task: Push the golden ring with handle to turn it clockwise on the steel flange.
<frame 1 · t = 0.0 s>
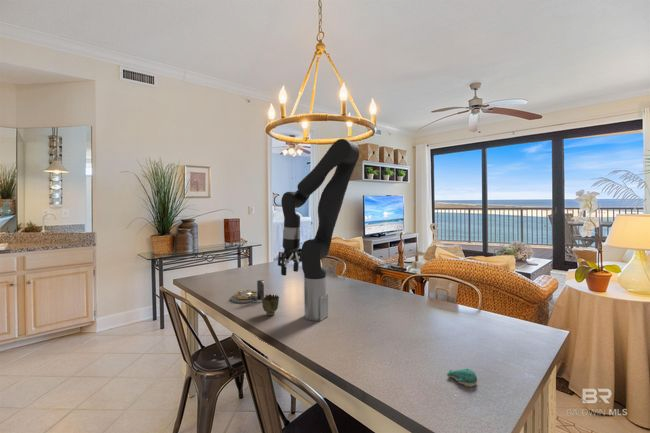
hand: (289, 273, 137), 17 cm above the table, tool pointing down, fingers open, 8 cm apart
steel flange: (246, 298, 157), on the table
cup: (270, 315, 134), on the table
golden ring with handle: (250, 287, 155), point 6 cm above the table, hinge at 0.0°
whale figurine: (461, 382, 84), on the table
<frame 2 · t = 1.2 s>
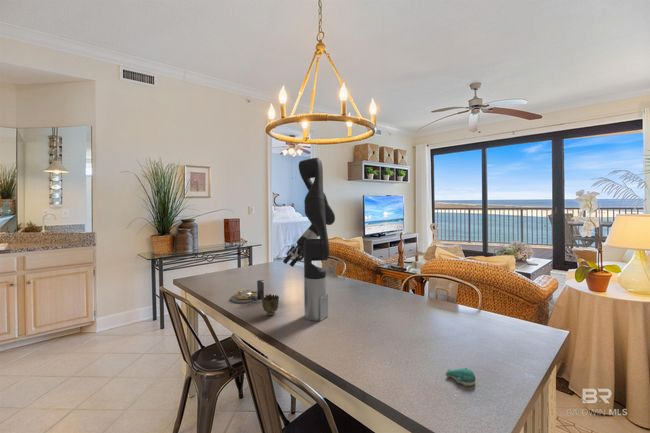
hand: (287, 264, 158), 17 cm above the table, tool tilted 45°, fingers open, 7 cm apart
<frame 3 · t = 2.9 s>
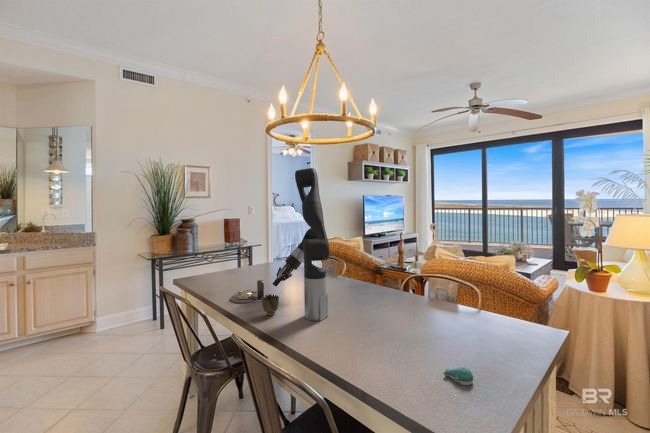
hand: (274, 285, 155), 7 cm above the table, tool tilted 45°, fingers closed
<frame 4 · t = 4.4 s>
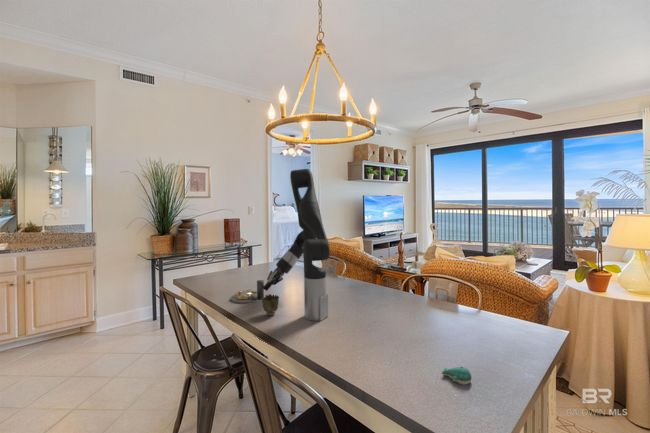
hand: (264, 289, 152), 6 cm above the table, tool tilted 45°, fingers closed
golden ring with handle: (250, 288, 155), point 6 cm above the table, hinge at -0.9°, touching gripper
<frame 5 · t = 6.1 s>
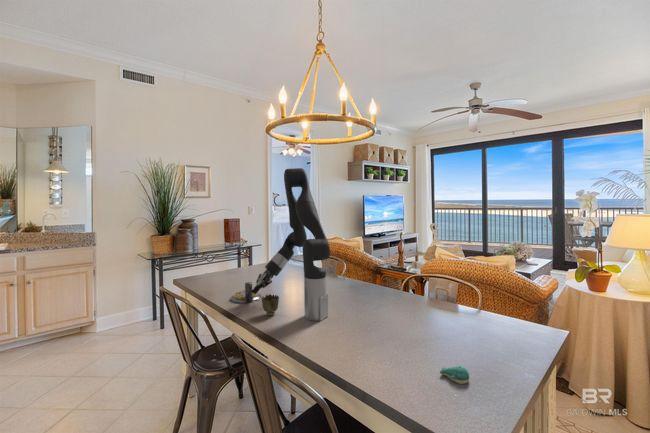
hand: (253, 292, 148), 6 cm above the table, tool tilted 45°, fingers closed
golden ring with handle: (246, 288, 154), point 6 cm above the table, hinge at -37.0°, touching gripper
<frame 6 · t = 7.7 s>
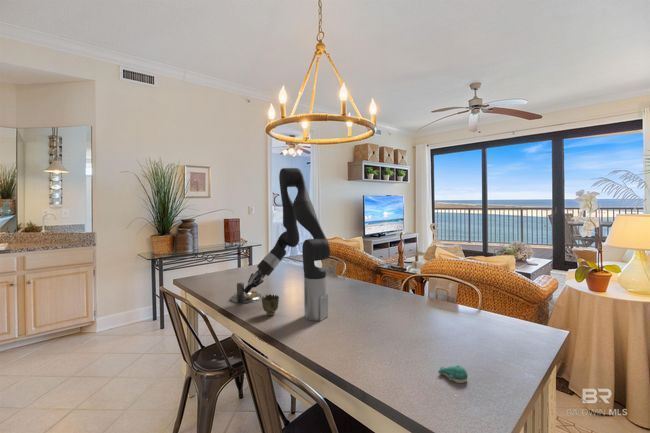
hand: (245, 292, 148), 6 cm above the table, tool tilted 45°, fingers closed
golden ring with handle: (244, 288, 153), point 6 cm above the table, hinge at -58.9°
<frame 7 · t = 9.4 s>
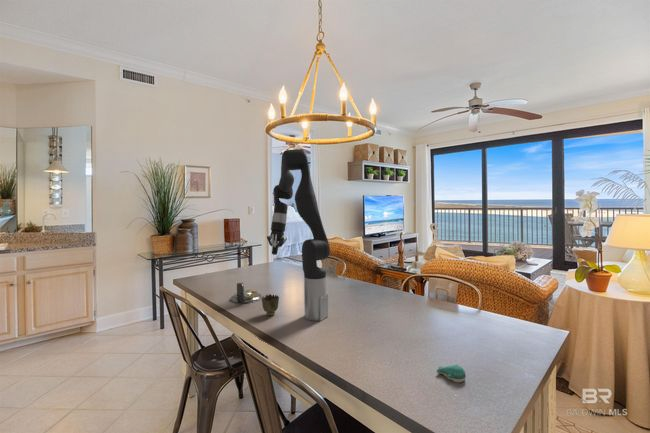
hand: (274, 254, 163), 21 cm above the table, tool pointing down, fingers closed
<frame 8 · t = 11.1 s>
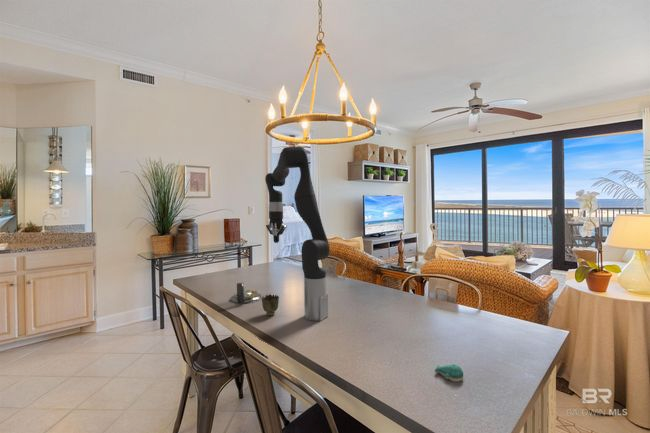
hand: (276, 242, 167), 27 cm above the table, tool pointing down, fingers closed
at the end: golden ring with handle at -59° (first picture: +0°) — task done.
